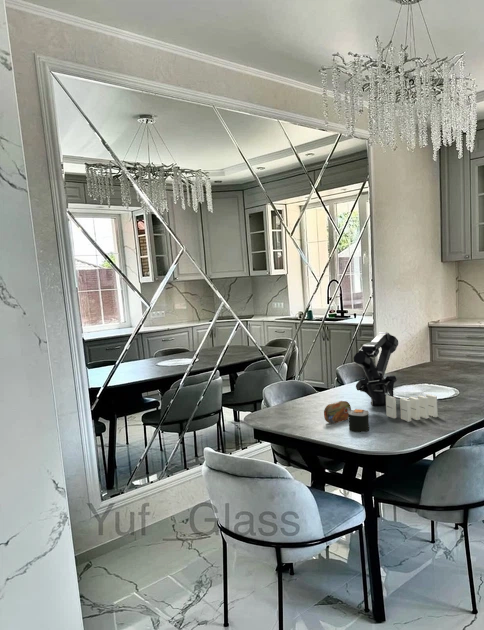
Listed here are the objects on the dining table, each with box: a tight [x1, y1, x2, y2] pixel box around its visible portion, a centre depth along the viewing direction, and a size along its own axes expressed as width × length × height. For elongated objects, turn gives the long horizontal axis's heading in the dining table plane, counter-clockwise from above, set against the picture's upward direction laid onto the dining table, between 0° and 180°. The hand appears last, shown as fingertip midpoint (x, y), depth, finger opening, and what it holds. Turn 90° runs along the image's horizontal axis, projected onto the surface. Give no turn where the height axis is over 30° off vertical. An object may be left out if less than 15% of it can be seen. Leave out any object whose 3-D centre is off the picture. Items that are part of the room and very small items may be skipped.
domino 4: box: [417, 395, 430, 420], centre depth 211 cm, size 2×5×9 cm, turn 17°
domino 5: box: [425, 393, 438, 418], centre depth 212 cm, size 2×5×9 cm, turn 18°
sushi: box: [348, 408, 370, 433], centre depth 199 cm, size 8×8×8 cm
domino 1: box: [385, 395, 397, 419], centre depth 214 cm, size 2×5×9 cm, turn 17°
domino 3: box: [408, 396, 421, 421], centre depth 209 cm, size 2×5×9 cm, turn 17°
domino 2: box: [399, 397, 412, 423], centre depth 208 cm, size 2×5×9 cm, turn 17°
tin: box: [323, 400, 352, 425], centre depth 213 cm, size 15×3×8 cm, turn 126°
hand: (383, 399), depth 216 cm, fingers open, 9 cm apart
